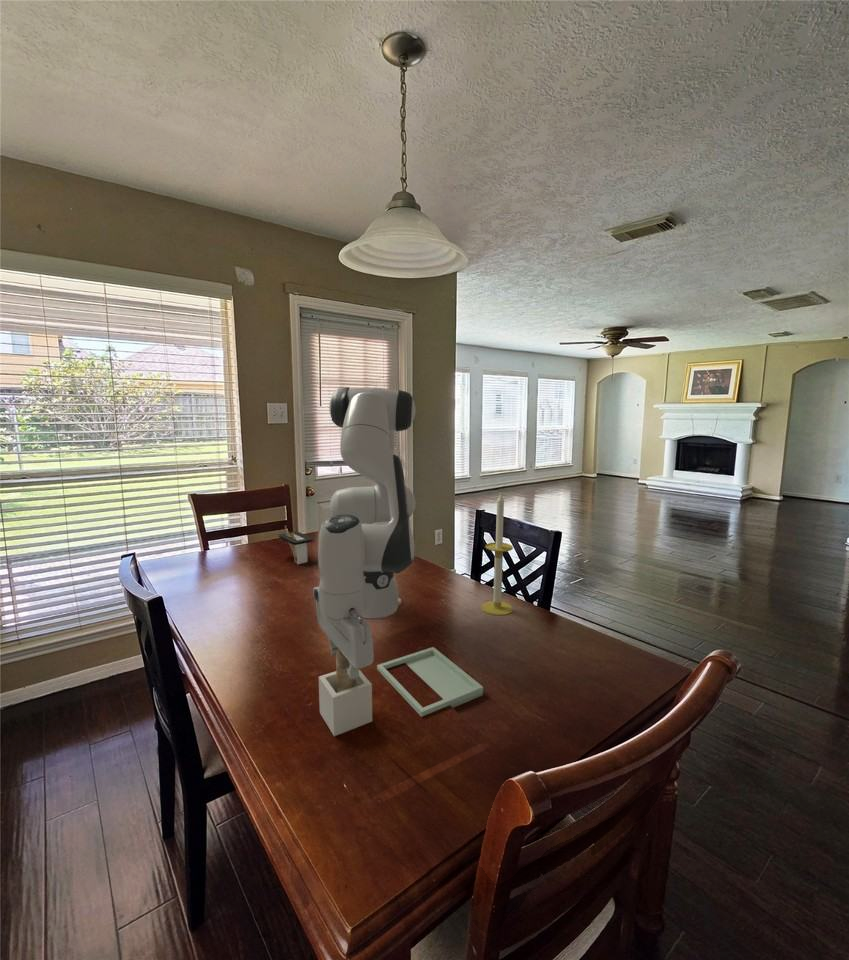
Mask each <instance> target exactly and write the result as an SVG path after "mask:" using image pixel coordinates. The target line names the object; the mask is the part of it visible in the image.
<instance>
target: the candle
mask: <svg viewBox="0 0 849 960" xmlns="http://www.w3.org/2000/svg"><path fill="white" fill-rule="evenodd" d="M504 508H505V500H504V498H503V495H502V493H499V497H498V498H497V500H496V522H495V523H496V524H495V527H496V528H495V542H489V543H486V544H485V546H484V547H485V549H487V550H488V551H491V552H494V568H493V569H494V573H493V599H492V600H490V601H489V600H488V601H486V602H484V603H482V604H481V607H480V608H481V610H482V611H483V612H485V614H488V615H492V616H507V615H510V614H512V613H513V611H514V607H513V606H512V605H511V604H509V603H507V602H504V601H502V594H503V593H502V589H503V559H504V556H503V555H504V552H510V551H512V550H513V549H514V546H513V545H511V544H509V543H506V542H504V541H503V539H504V538H503V537H504V534H503V533H504V513H505V512H504Z"/></svg>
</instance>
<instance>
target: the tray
mask: <svg viewBox="0 0 849 960" xmlns="http://www.w3.org/2000/svg"><path fill="white" fill-rule="evenodd" d="M402 664H406V665H407V666H408V667H409V668H410V669H411V670H412V671H413V672H414V673H415V674H416V675H417V676H418V677H419V678H420V679H421V680H423V682H424V683H426V684H427V685H428V686H429V687H430V688H431V689H432V690H433V691H434V692H435V693H436V694H437V695H438V696H439V697H440V698H442V699H441V700H438V701H436V702H433V703H432V704H429V705H426V706H424V707H423V706H422V704H420V703H419V702H418V701H417V700H416V699H415V698H414V697H413V696H412V695H411V693H409V691H408V690H406V688H405V687H404V686H403V685H402V684H401V683H400V682H399V681H398V680H397V679H396V678H395V677H394V676H393V674H391V673H390V672H389V671H388V670H387V669H390V668H393V667H396V666H399V665H402ZM376 670H377V671H378V672H379V673H380V674H381V676H383V677H384V678H385V679H386V681H388V683H389V684H390V685H392V687H393V689H395V690H396V691H397V692H398V694H400V696H401V697H402V698H403V699H404V700H405V701H406V702H407V703H408V704H409V706H410V707H412V708H413V710H414V711H416V713H417V714H418V715H419V716H420V717H421V718H422V717H425V716H426V715H429V714H432V713H434V712H437V711H439V710H441V709H443V708H447V707H451V709H453V708H457V707H458V706H460V705H463V704H465V703H467V702H470V701H472V700H475V699H478V698H479V697H483V696H484V687H483V685H481V684H480V683H479V682H478V681H477V680H475V679H474V678H472V677H471V676H470V675H469V674H467V673H466V672H465V671H464V670H463V669H462V668H461V667H459V666H458V665H457V664H455V663H454V662H453V661H451V660H450V659H449V658H448V657H446V656H445V655H444V654H442V652H440V651H439V650H437V648H435V646H432V647H429V648H426V649H423V650H420V651H417V652H414V653H409V654H407V655H404V656H402V657H401V656H400V657H398V658H395V659H392V660H389V661H386V662H383V663H379V664H377V665H376Z"/></svg>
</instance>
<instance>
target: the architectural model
mask: <svg viewBox="0 0 849 960" xmlns="http://www.w3.org/2000/svg"><path fill="white" fill-rule="evenodd" d="M284 532H285V533H279V534H278V538H280V539H281V540H283V541H284V542H287V543H288V545H289V547H290V550H291V552H292V554H293V562H294V563H296V564H297V565H300V564H305V563H308V543H312V542H314V541H315V540H314V539H315V538H314V537H311V536H309V535H306V534H305V533H302V532H299V531H289V530H288V529H287V525H284Z"/></svg>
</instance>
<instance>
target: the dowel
mask: <svg viewBox="0 0 849 960" xmlns="http://www.w3.org/2000/svg"><path fill="white" fill-rule="evenodd" d="M349 666H350V663H349V661H348V659H347V658H346V657H345V656H344V655H343V653H342V652H341V651H340V650H337V651H336V658H335V671H336V679H337V693H338V692H341V691H344V690H347V689H350V688H353V679H350V677H349V676H348V674H347V668H348V667H349Z"/></svg>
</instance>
